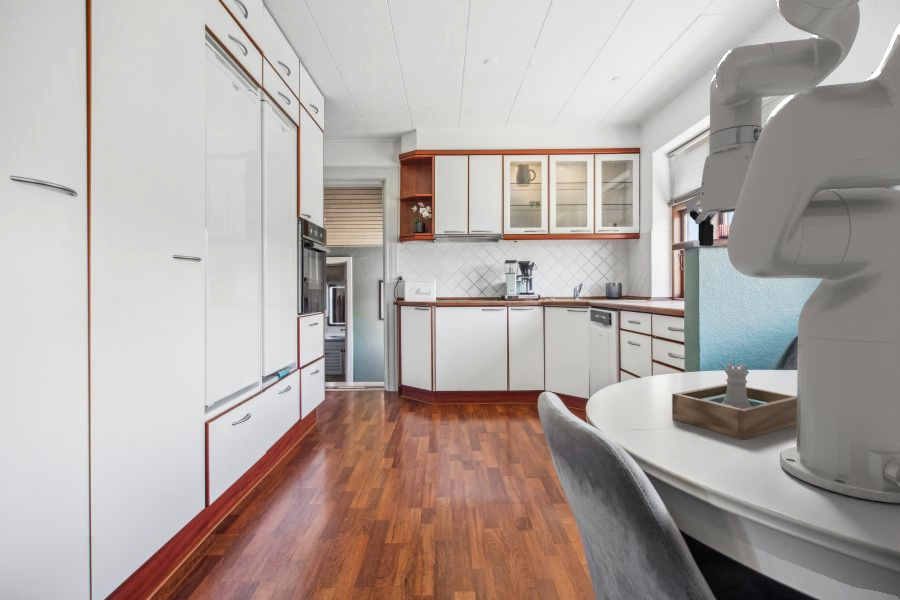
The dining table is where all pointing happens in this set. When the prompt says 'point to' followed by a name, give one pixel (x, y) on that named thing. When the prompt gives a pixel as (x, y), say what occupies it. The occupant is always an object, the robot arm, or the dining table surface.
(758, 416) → the walled box
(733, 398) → the rook chess piece
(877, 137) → the robot arm
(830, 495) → the dining table surface
